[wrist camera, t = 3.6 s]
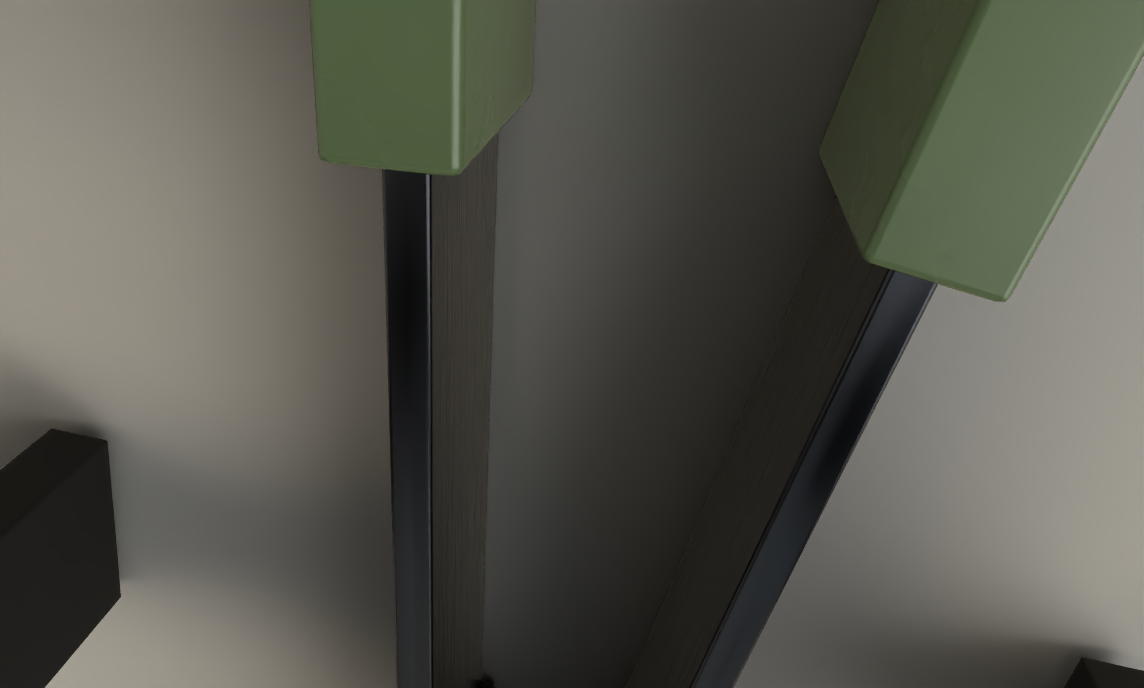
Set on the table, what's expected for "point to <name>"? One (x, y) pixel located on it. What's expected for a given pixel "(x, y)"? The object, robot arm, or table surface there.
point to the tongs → (812, 321)
